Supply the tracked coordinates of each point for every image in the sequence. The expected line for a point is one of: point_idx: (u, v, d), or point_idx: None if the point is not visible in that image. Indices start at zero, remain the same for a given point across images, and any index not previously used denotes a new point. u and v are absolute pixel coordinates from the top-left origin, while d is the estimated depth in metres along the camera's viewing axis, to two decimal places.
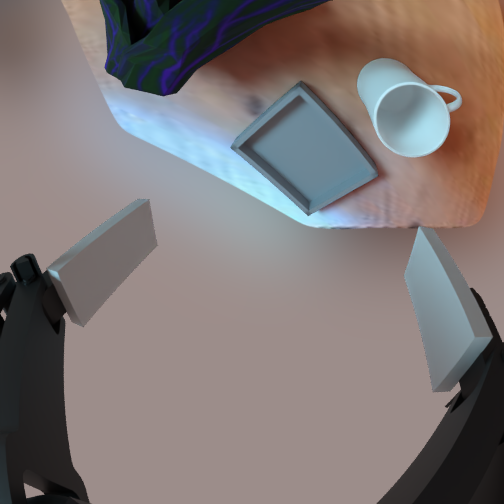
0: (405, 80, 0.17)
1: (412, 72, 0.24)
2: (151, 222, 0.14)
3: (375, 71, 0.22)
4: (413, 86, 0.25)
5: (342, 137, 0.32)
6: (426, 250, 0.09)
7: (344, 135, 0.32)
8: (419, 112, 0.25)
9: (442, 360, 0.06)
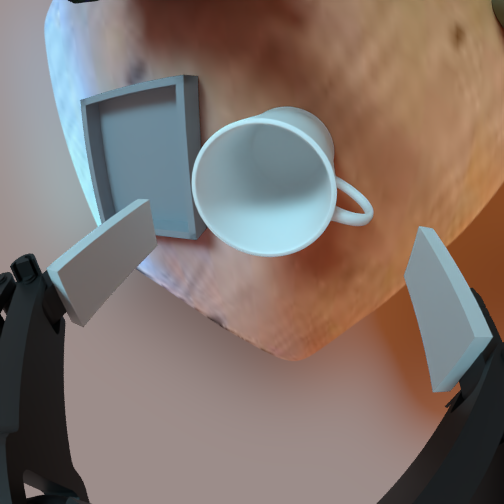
0: (295, 125, 0.12)
1: None
2: (151, 222, 0.14)
3: (280, 111, 0.18)
4: (320, 169, 0.23)
5: (183, 166, 0.24)
6: (426, 250, 0.09)
7: (187, 165, 0.24)
8: (298, 200, 0.22)
9: (442, 360, 0.06)
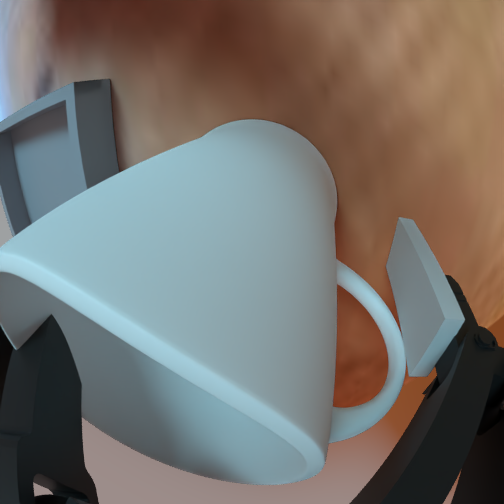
0: (145, 287, 0.02)
1: (336, 208, 0.13)
2: None
3: (218, 136, 0.08)
4: None
5: None
6: (404, 240, 0.10)
7: None
8: None
9: (417, 344, 0.07)
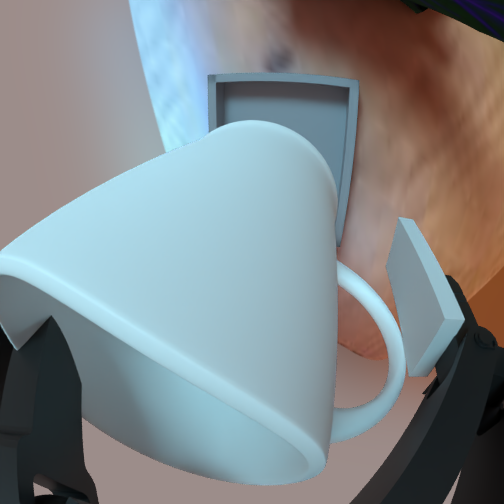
0: (149, 292, 0.02)
1: None
2: None
3: (219, 137, 0.08)
4: None
5: (345, 172, 0.23)
6: (404, 240, 0.10)
7: (349, 172, 0.23)
8: None
9: (417, 344, 0.07)
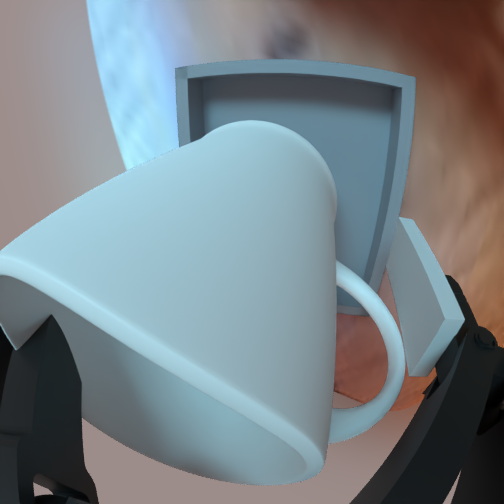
0: (146, 292, 0.02)
1: (336, 209, 0.13)
2: None
3: (218, 138, 0.08)
4: None
5: (388, 220, 0.15)
6: (404, 240, 0.10)
7: (395, 220, 0.15)
8: None
9: (417, 344, 0.07)
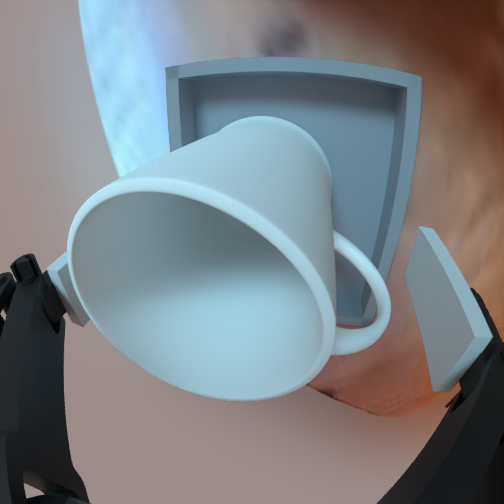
0: (242, 192, 0.05)
1: None
2: None
3: (243, 128, 0.11)
4: None
5: (392, 228, 0.14)
6: (426, 250, 0.09)
7: (398, 228, 0.14)
8: (273, 268, 0.15)
9: (442, 360, 0.06)
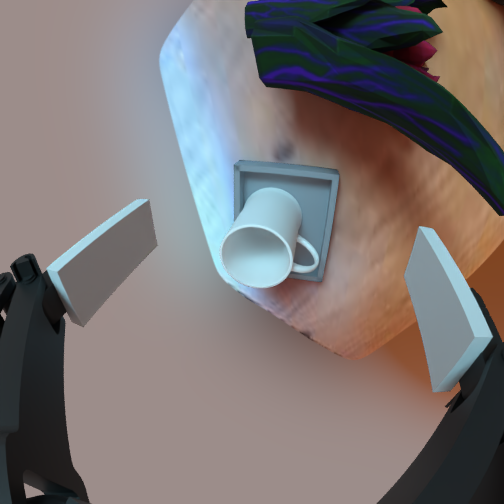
0: (274, 228, 0.28)
1: (301, 219, 0.38)
2: (151, 222, 0.14)
3: (268, 200, 0.33)
4: None
5: (326, 235, 0.37)
6: (426, 250, 0.09)
7: (329, 235, 0.37)
8: (276, 250, 0.37)
9: (442, 360, 0.06)
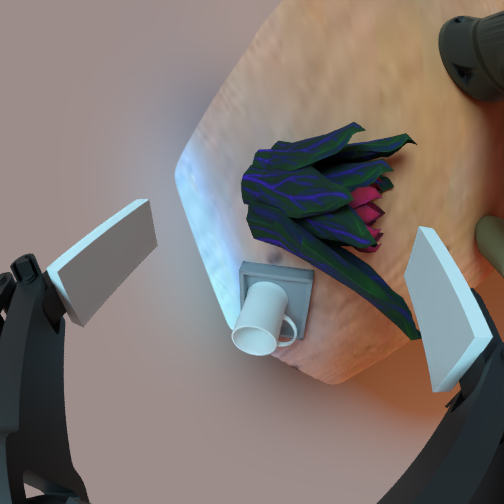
0: (264, 327, 0.44)
1: (287, 301, 0.54)
2: (151, 222, 0.14)
3: (263, 297, 0.50)
4: None
5: (304, 314, 0.53)
6: (426, 250, 0.09)
7: (306, 314, 0.53)
8: None
9: (442, 360, 0.06)
